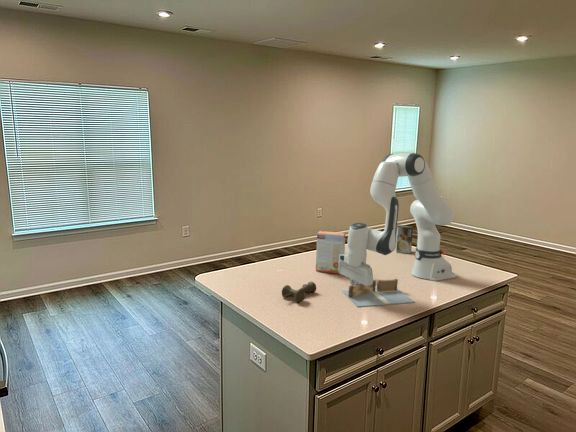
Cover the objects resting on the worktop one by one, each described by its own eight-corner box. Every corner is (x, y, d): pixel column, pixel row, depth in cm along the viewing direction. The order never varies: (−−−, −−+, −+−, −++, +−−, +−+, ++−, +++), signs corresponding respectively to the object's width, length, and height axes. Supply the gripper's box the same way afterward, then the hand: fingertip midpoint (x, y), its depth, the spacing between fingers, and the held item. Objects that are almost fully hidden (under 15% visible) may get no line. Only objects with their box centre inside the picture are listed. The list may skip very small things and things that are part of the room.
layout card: (395, 287, 208) (396, 276, 207) (414, 302, 191) (416, 290, 190) (342, 291, 202) (342, 280, 201) (357, 307, 185) (358, 294, 183)
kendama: (320, 295, 198) (291, 306, 183) (304, 290, 204) (275, 300, 189) (321, 282, 197) (292, 293, 182) (305, 278, 203) (275, 287, 189)
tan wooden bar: (373, 289, 203) (374, 279, 202) (376, 291, 201) (376, 280, 200) (347, 296, 194) (348, 285, 193) (350, 297, 193) (350, 286, 192)
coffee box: (410, 250, 273) (412, 225, 270) (411, 253, 267) (413, 228, 263) (395, 249, 274) (397, 224, 271) (395, 252, 268) (397, 227, 265)
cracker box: (343, 271, 230) (346, 232, 226) (341, 274, 225) (343, 235, 220) (318, 267, 235) (319, 230, 230) (315, 271, 229) (316, 232, 225)
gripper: (377, 265, 188) (375, 295, 191) (347, 252, 205) (345, 280, 208) (366, 267, 184) (364, 298, 187) (336, 254, 202) (335, 282, 204)
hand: (354, 288), depth 198 cm, fingers closed
